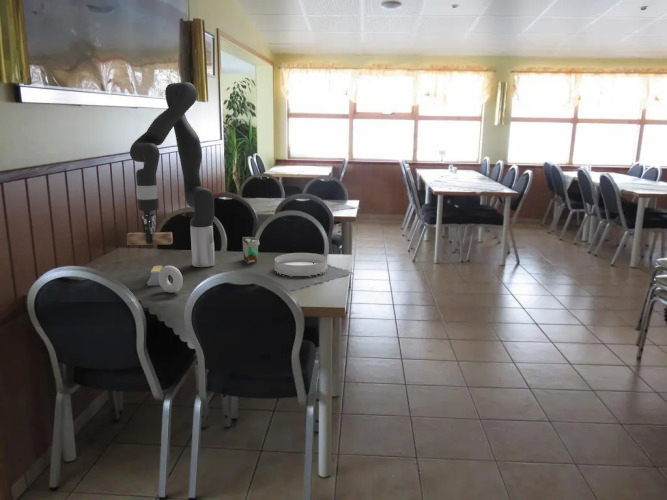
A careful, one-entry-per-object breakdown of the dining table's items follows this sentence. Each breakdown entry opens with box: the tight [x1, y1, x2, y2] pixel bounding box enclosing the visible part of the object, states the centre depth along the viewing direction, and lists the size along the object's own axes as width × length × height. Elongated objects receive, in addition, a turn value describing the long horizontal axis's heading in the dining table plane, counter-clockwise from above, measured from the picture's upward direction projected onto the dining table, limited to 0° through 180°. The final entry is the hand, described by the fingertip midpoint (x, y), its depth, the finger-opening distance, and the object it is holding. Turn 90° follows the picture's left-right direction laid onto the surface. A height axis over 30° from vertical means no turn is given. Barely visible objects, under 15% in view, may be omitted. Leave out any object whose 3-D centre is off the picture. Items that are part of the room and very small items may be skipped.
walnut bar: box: [126, 231, 174, 246], centre depth 209 cm, size 16×4×4 cm, turn 96°
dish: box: [274, 252, 328, 275], centre depth 230 cm, size 22×22×5 cm
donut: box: [158, 265, 184, 294], centre depth 197 cm, size 10×4×10 cm, turn 67°
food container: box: [241, 236, 260, 265], centre depth 243 cm, size 12×6×10 cm, turn 22°
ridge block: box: [146, 265, 163, 286], centre depth 210 cm, size 6×8×6 cm
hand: (150, 242), depth 209 cm, fingers closed on walnut bar, 3 cm apart
